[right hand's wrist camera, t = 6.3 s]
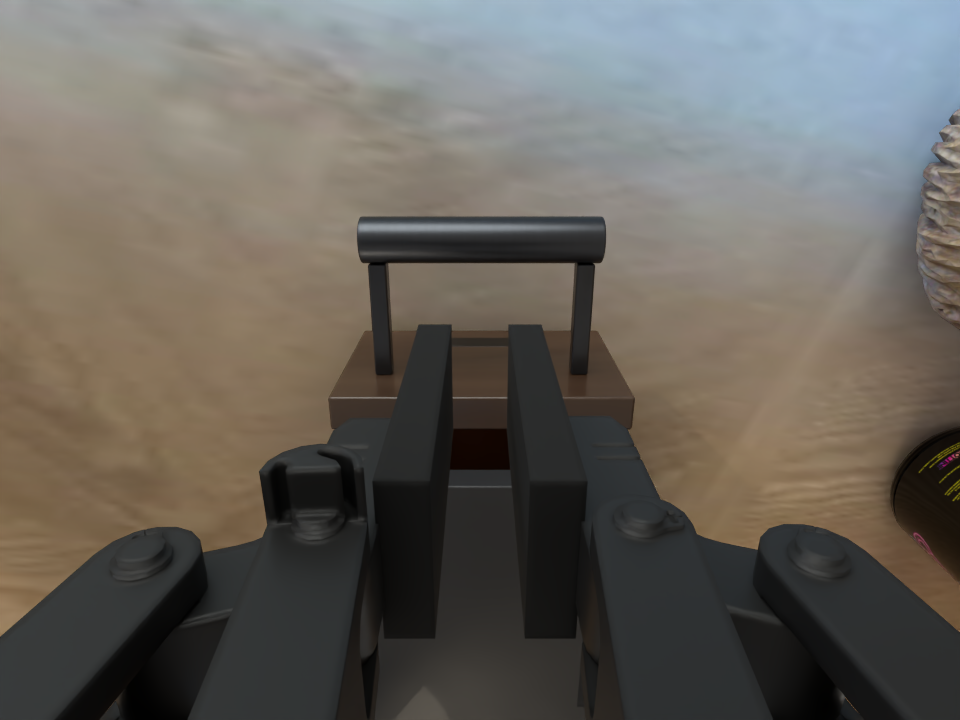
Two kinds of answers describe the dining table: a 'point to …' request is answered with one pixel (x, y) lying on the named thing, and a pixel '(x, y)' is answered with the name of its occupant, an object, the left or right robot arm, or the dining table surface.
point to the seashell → (942, 226)
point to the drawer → (481, 354)
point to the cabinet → (479, 627)
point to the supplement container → (932, 498)
